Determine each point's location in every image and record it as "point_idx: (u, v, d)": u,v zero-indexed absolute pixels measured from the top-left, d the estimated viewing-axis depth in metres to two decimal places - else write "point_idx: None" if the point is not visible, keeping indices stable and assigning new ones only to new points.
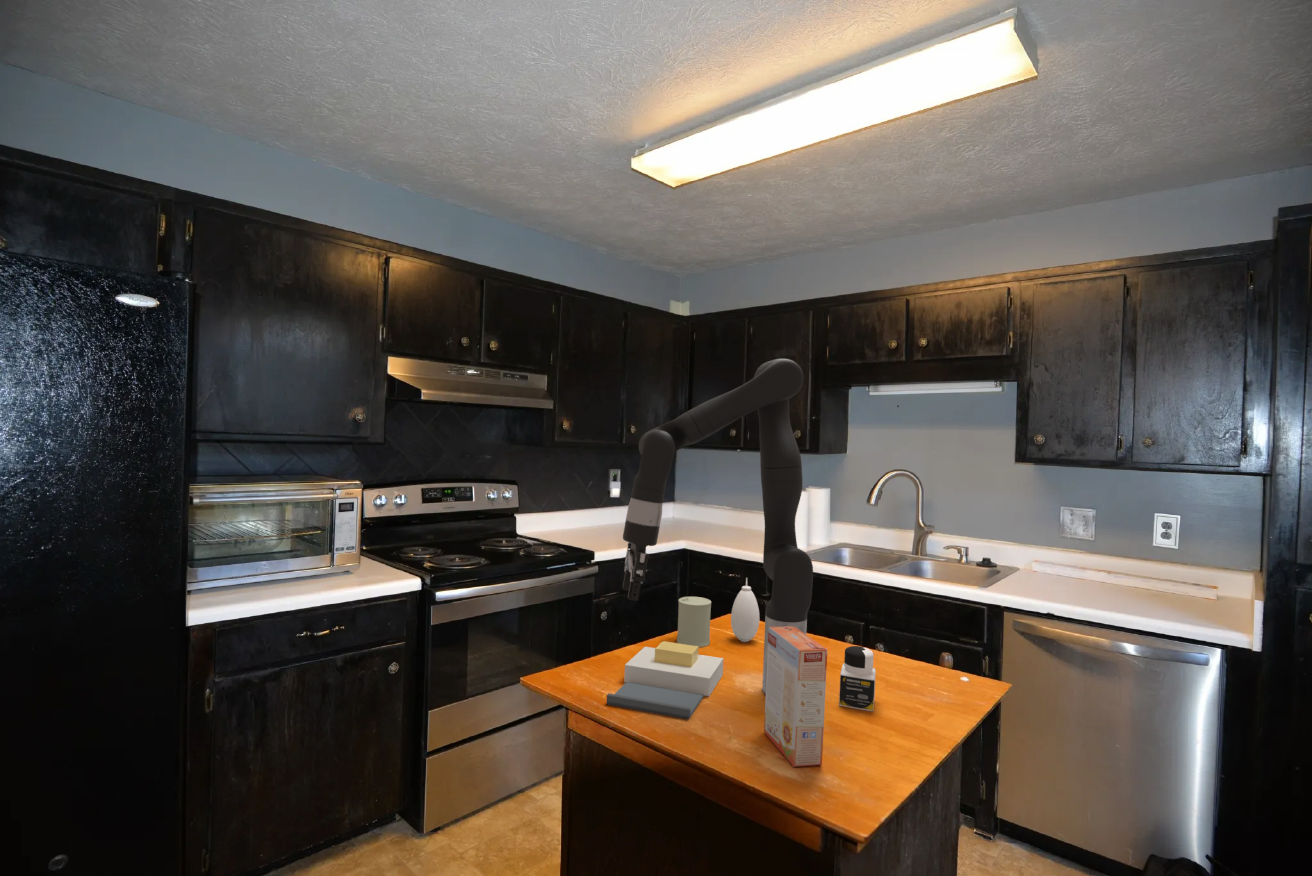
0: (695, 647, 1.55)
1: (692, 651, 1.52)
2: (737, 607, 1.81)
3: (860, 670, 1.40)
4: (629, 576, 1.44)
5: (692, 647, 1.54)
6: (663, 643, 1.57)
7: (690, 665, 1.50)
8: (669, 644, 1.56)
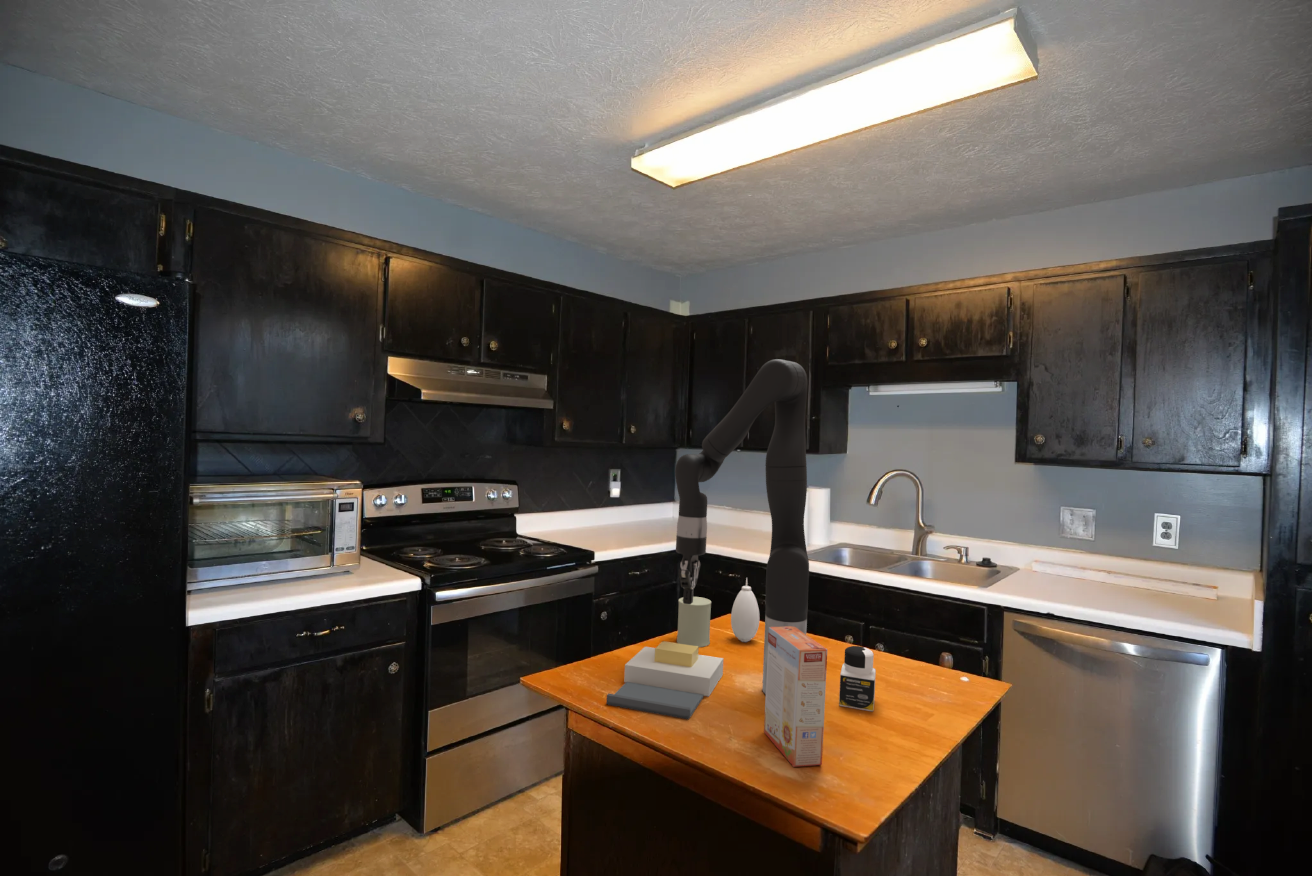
0: (695, 647, 1.55)
1: (692, 651, 1.52)
2: (737, 607, 1.81)
3: (860, 670, 1.40)
4: None
5: (692, 647, 1.54)
6: (663, 643, 1.57)
7: (690, 665, 1.50)
8: (669, 644, 1.56)
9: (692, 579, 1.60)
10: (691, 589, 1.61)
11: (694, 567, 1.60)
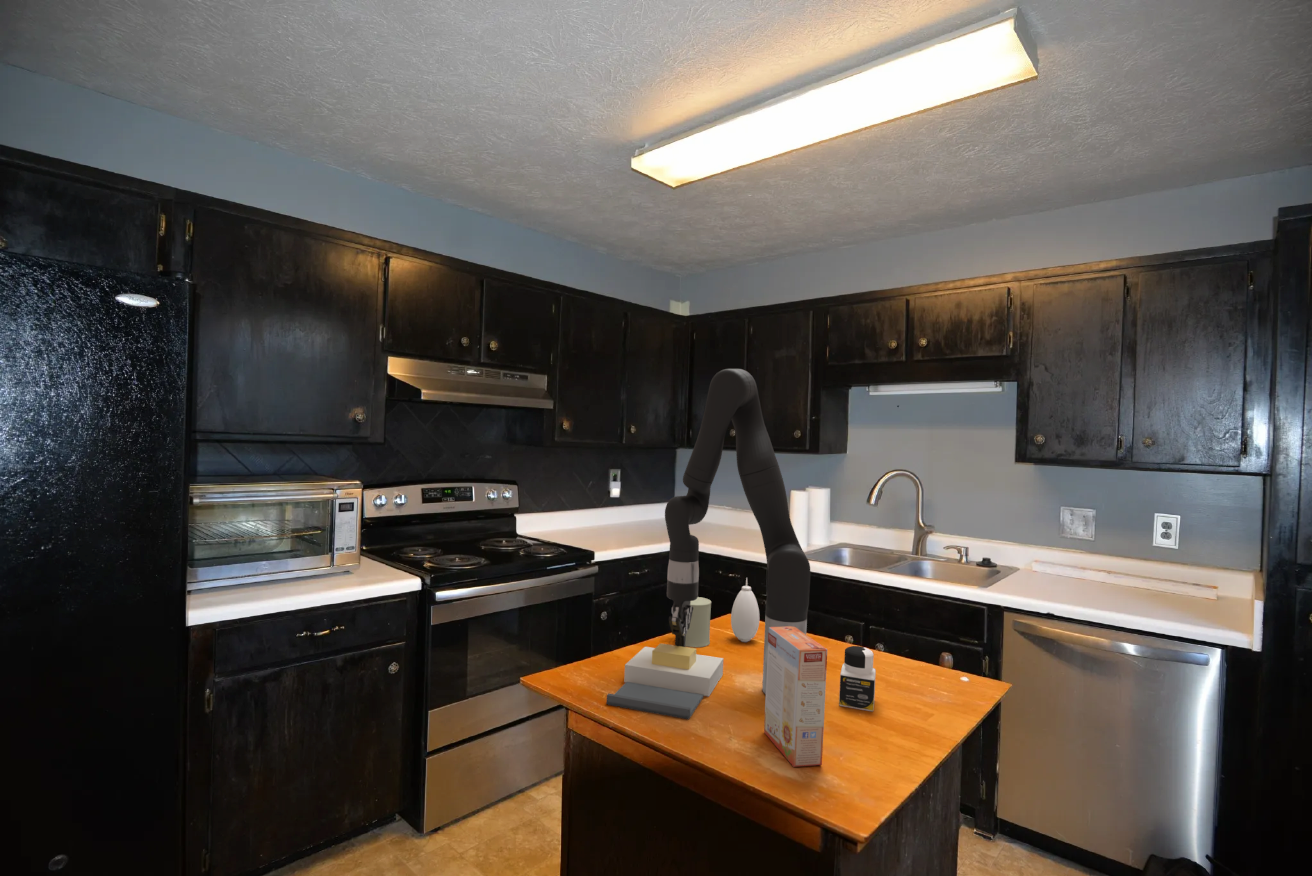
0: (693, 649, 1.53)
1: (690, 653, 1.50)
2: (737, 607, 1.81)
3: (860, 670, 1.40)
4: None
5: (690, 649, 1.53)
6: (661, 645, 1.55)
7: (688, 667, 1.48)
8: (667, 646, 1.55)
9: (684, 626, 1.55)
10: (683, 636, 1.56)
11: (686, 613, 1.54)
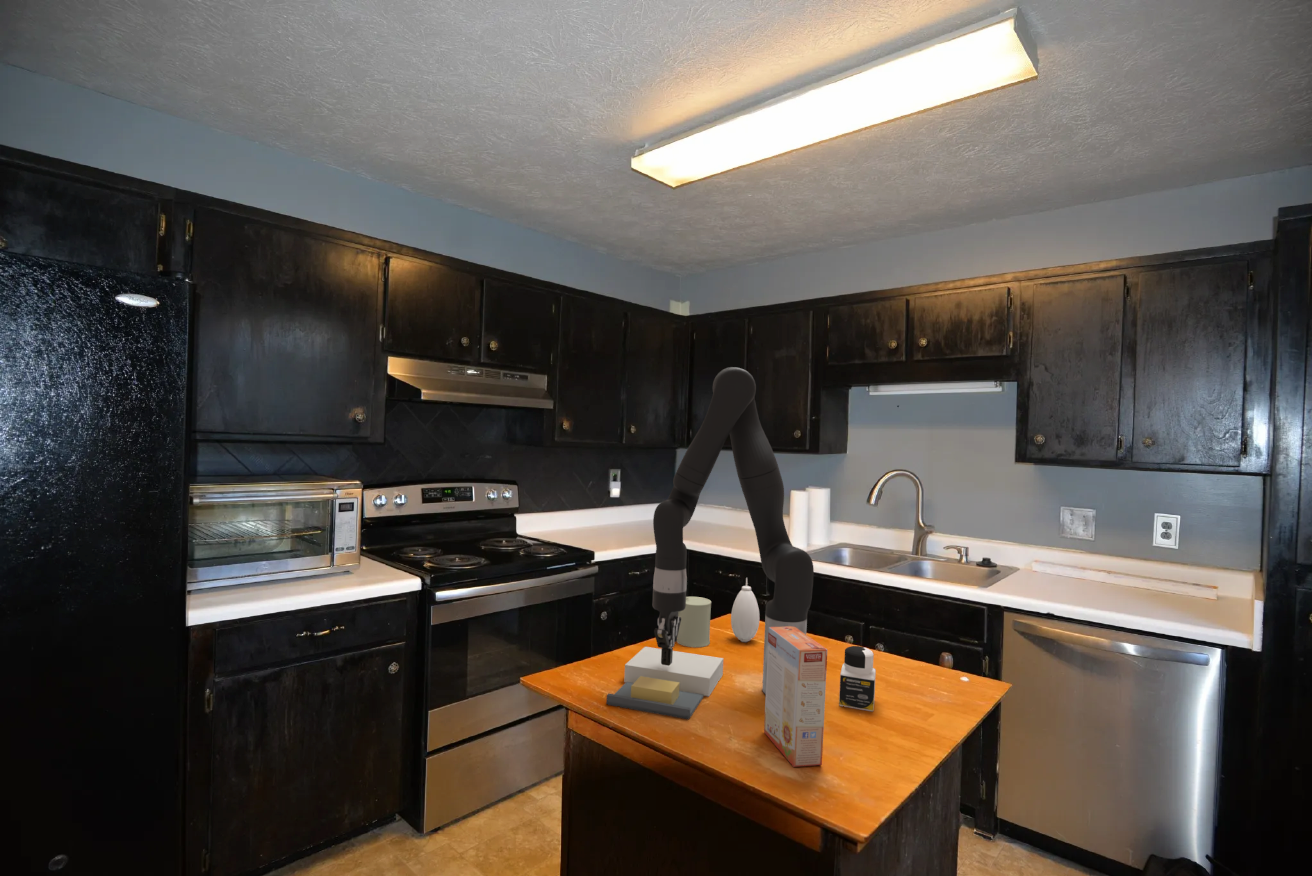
0: None
1: None
2: (737, 607, 1.81)
3: (860, 670, 1.40)
4: None
5: None
6: None
7: None
8: None
9: (670, 638, 1.45)
10: (670, 649, 1.46)
11: (672, 625, 1.44)
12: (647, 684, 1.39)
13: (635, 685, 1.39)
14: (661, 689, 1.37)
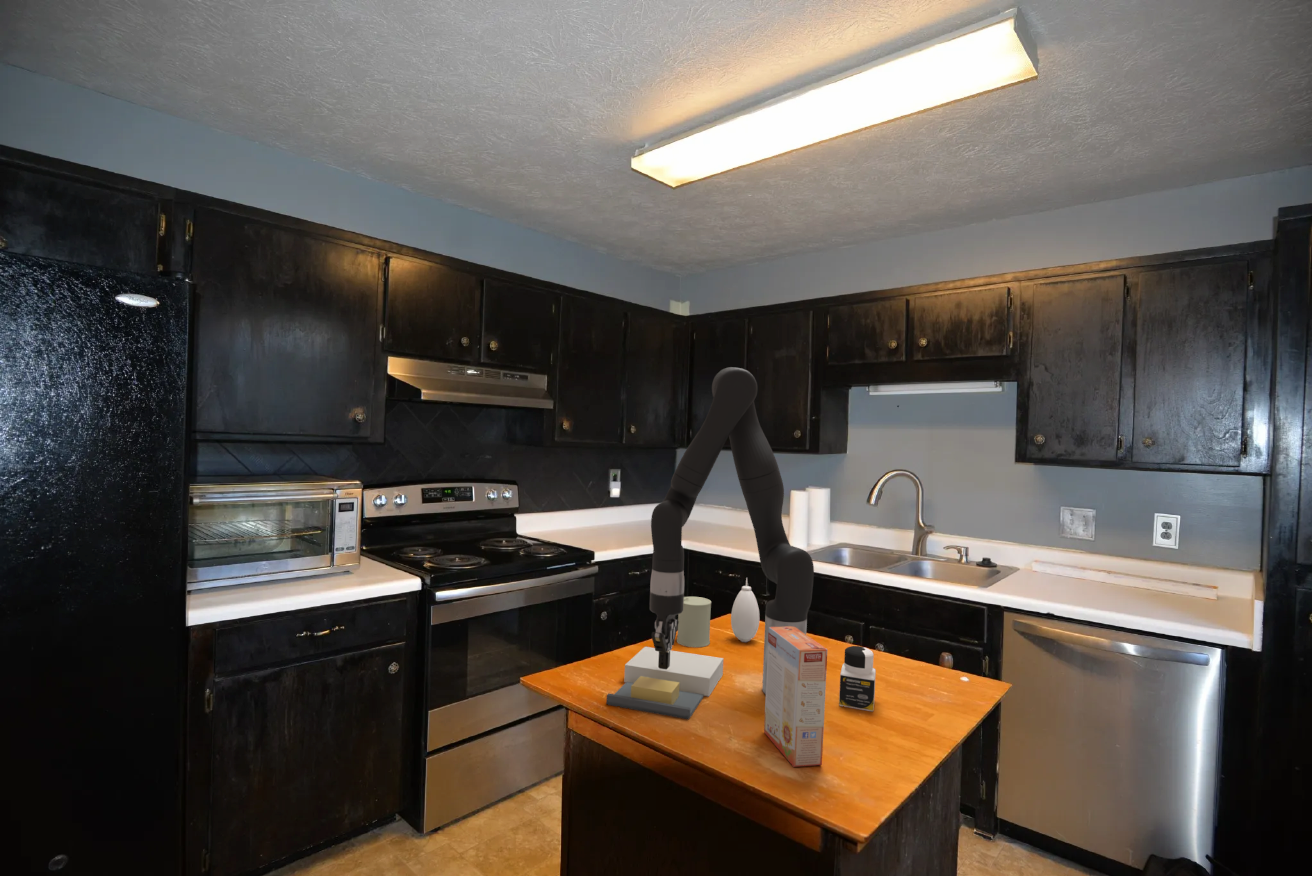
0: None
1: None
2: (737, 607, 1.81)
3: (860, 670, 1.40)
4: None
5: None
6: None
7: None
8: None
9: (668, 641, 1.43)
10: None
11: (670, 628, 1.42)
12: (647, 684, 1.39)
13: (635, 685, 1.39)
14: (661, 689, 1.37)
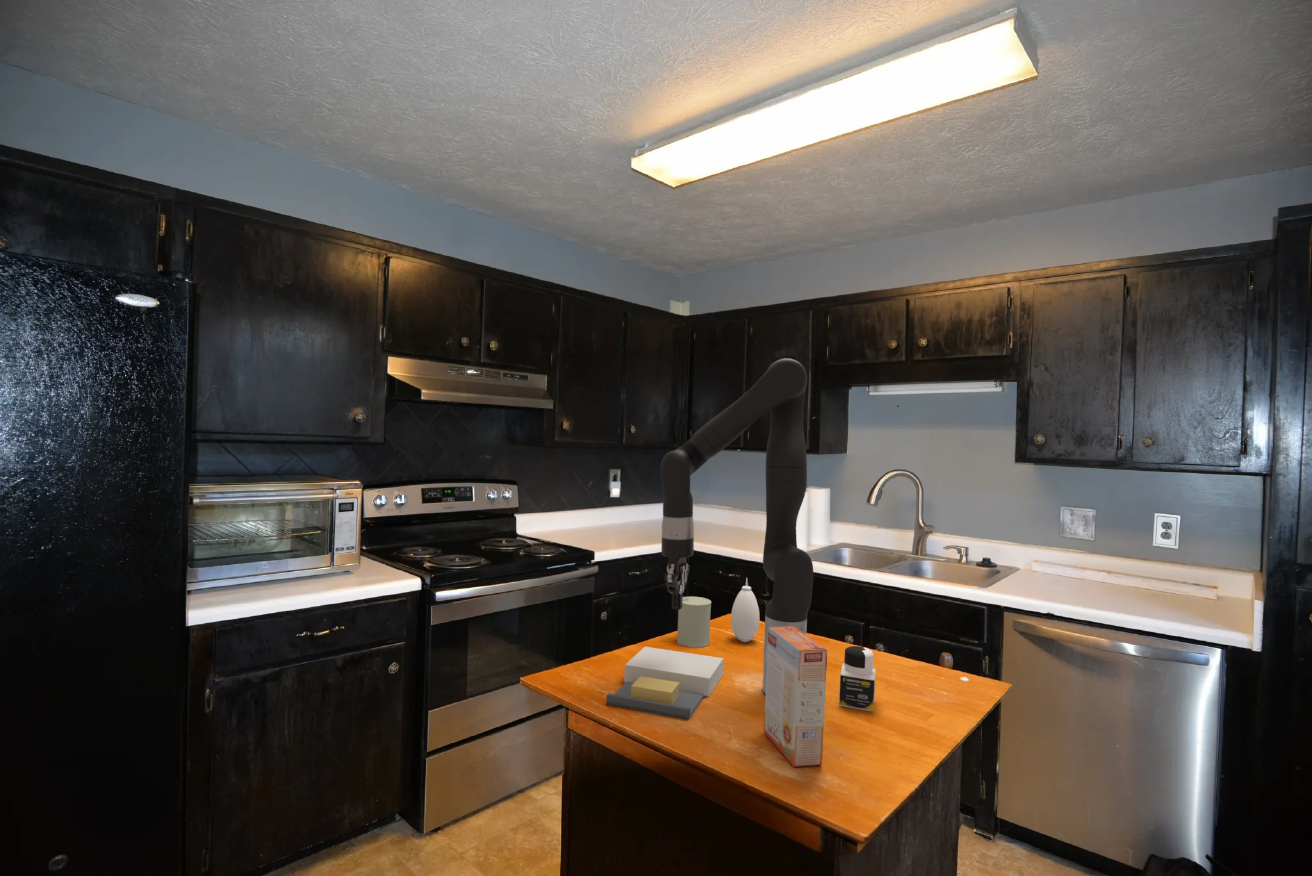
0: None
1: None
2: (737, 607, 1.81)
3: (860, 670, 1.40)
4: None
5: None
6: None
7: None
8: None
9: (680, 583, 1.50)
10: (680, 594, 1.51)
11: (681, 570, 1.50)
12: (647, 684, 1.39)
13: (635, 685, 1.39)
14: (661, 689, 1.37)
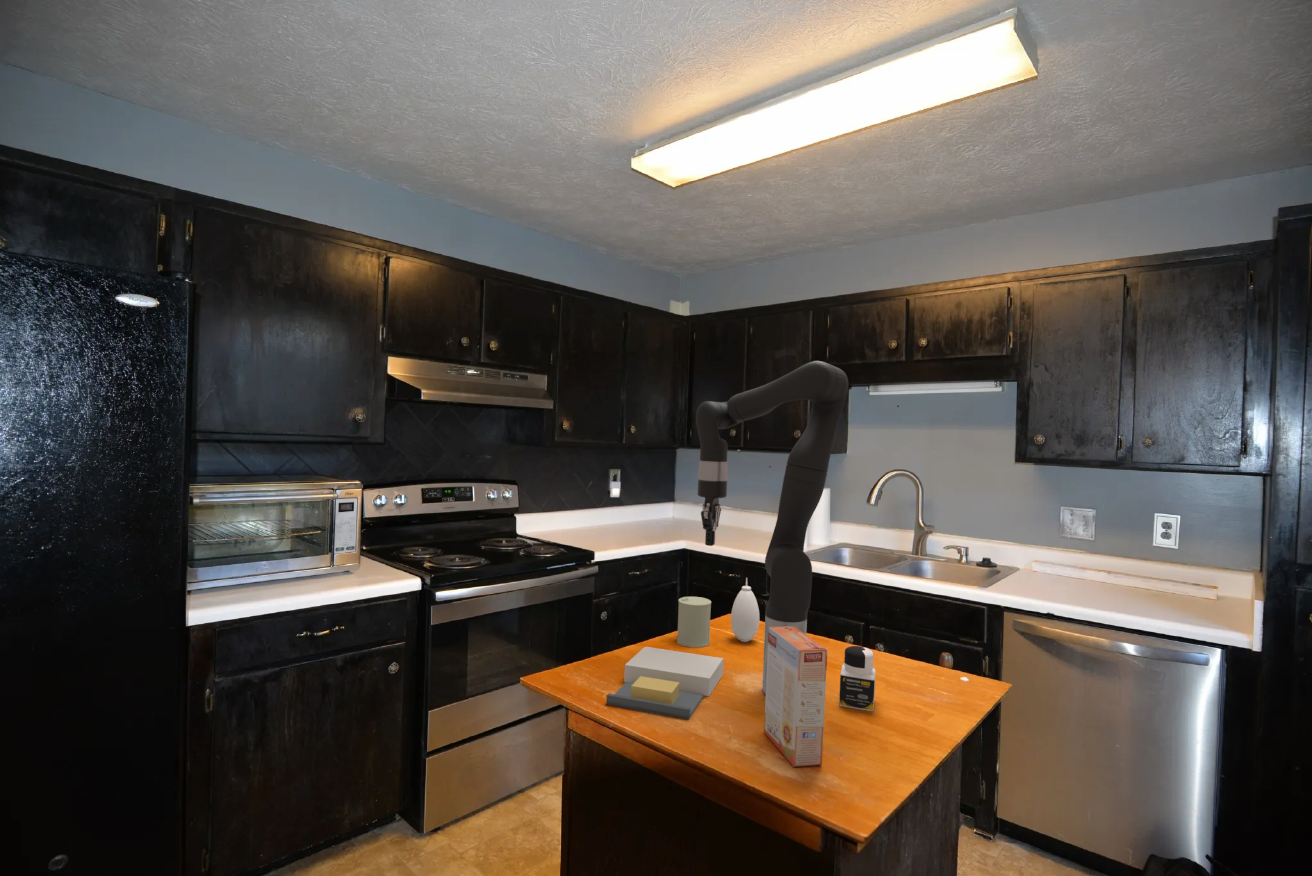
0: None
1: None
2: (737, 607, 1.81)
3: (860, 670, 1.40)
4: None
5: None
6: None
7: None
8: None
9: (714, 521, 1.67)
10: (713, 531, 1.68)
11: (716, 509, 1.67)
12: (647, 684, 1.39)
13: (635, 685, 1.39)
14: (661, 689, 1.37)
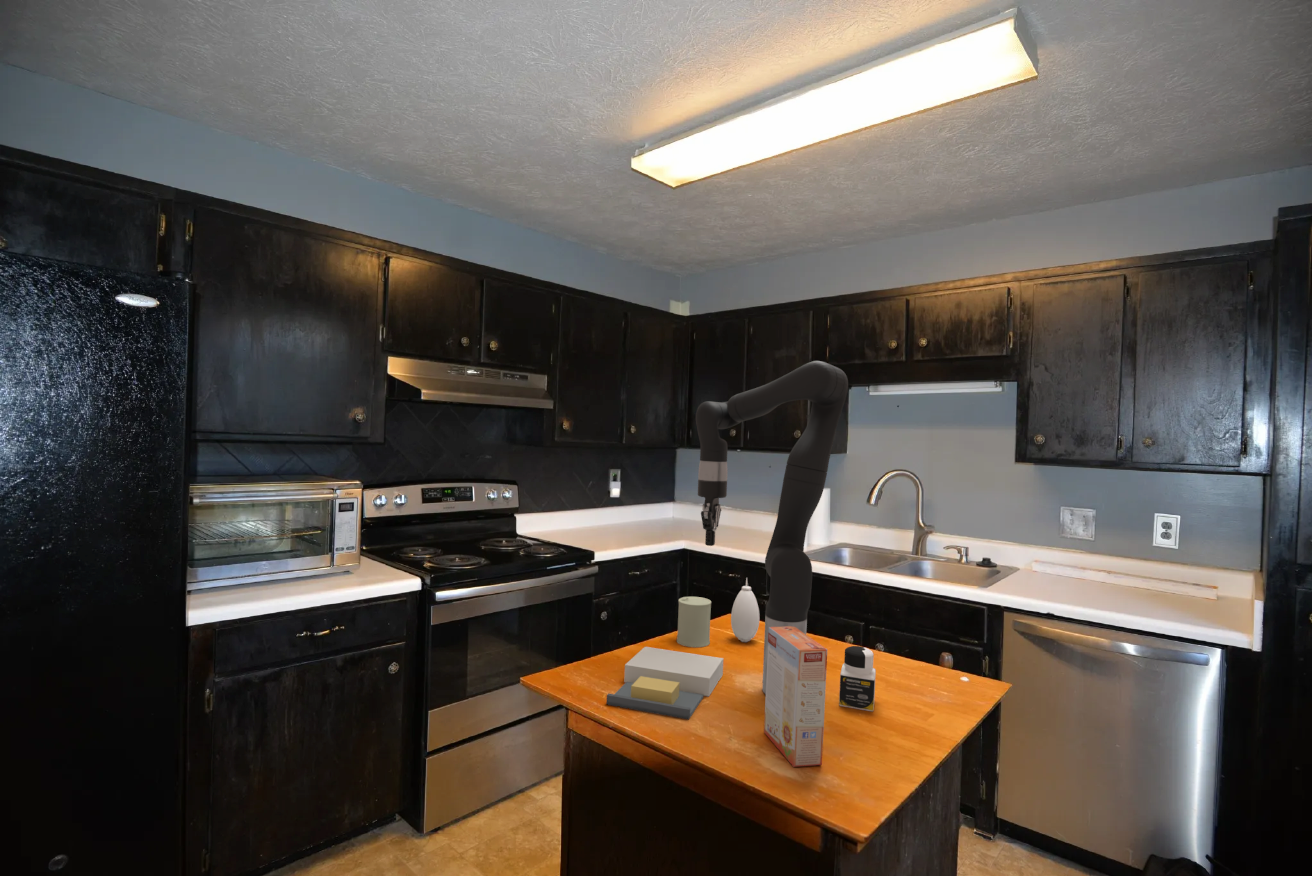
0: None
1: None
2: (737, 607, 1.81)
3: (860, 670, 1.40)
4: None
5: None
6: None
7: None
8: None
9: (714, 521, 1.67)
10: (713, 531, 1.68)
11: (716, 509, 1.67)
12: (647, 684, 1.39)
13: (635, 685, 1.39)
14: (661, 689, 1.37)
